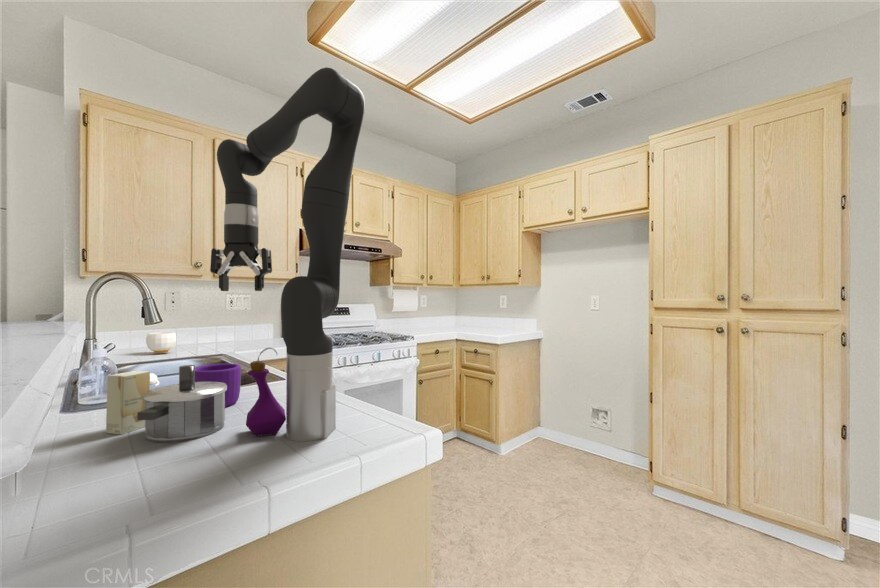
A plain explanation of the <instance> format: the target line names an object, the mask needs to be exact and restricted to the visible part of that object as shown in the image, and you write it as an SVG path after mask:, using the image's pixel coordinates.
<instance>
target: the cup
mask: <svg viewBox="0 0 880 588" xmlns="http://www.w3.org/2000/svg"><path fill="white" fill-rule="evenodd" d="M145 340H146V341H145V344H146V347H147V349H149V350H150V351H151V352H154V353H155V354H163V353H168V352H169V351H170V350H173V348H175V346H176V345H177V344H176V343H177V334H176V332H175V331H157V332H149V333H147V335H146V338H145Z"/></svg>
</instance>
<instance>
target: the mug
mask: <svg viewBox="0 0 880 588" xmlns="http://www.w3.org/2000/svg"><path fill="white" fill-rule="evenodd" d="M241 380H242V366H241V365H240V364H237V363H213V364H205V365H200V366H195V382H207V381H209V382H222V383H225V384H227V390H226V391H225V408H226V407H229V406H231V405H234V404H235V403H237V402H238V400H239V398H240V394H241V383H242V381H241Z"/></svg>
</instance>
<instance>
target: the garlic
mask: <svg viewBox="0 0 880 588" xmlns="http://www.w3.org/2000/svg"><path fill="white" fill-rule="evenodd" d="M152 385H153V387H154V386H155V387H158V386H159V385H160V381H159V380H158V375H156V374H155V373H151V372H150V386H152Z"/></svg>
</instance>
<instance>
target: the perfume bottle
mask: <svg viewBox="0 0 880 588" xmlns="http://www.w3.org/2000/svg"><path fill="white" fill-rule="evenodd" d="M267 350H272V351H274V352H275V354H276V355H278V352H277V350H276V349H275V348H274V347H272V346H270V347H269V346H268V347H265V348H264V349H263V350H261V351H260V352H259V355H258V358H257V360H254V361H252V362H250V363H249V365H250V368H251V370H249V371H247V375H248V376H250V377H252V378H253V379H254V380H255V382H256V384H257V388H258V398H257V400H256V401H255V403H254V405H252V407H251V408H250V410H249V411H248V412H247V415H246V420H245V426H246V428H247V429H248V430H249V431H250V433H252V434H253V436H255V437H264V436H270V435H271V436H272V435H276V434H278V433H279V431H280V430H281V428H282V426H283V425H284V424H285V422H286V412H285V408H283V405H281V404H280V403H279V402H278V400H277V398H276V397H275V396H274V395H273V393H272V390H271V388H270V386H269V384H268V381H267V374H270V370H269V368H266V363H265V361H261V360H260V356H261V355H262V353H264V352H265V351H267Z"/></svg>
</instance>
